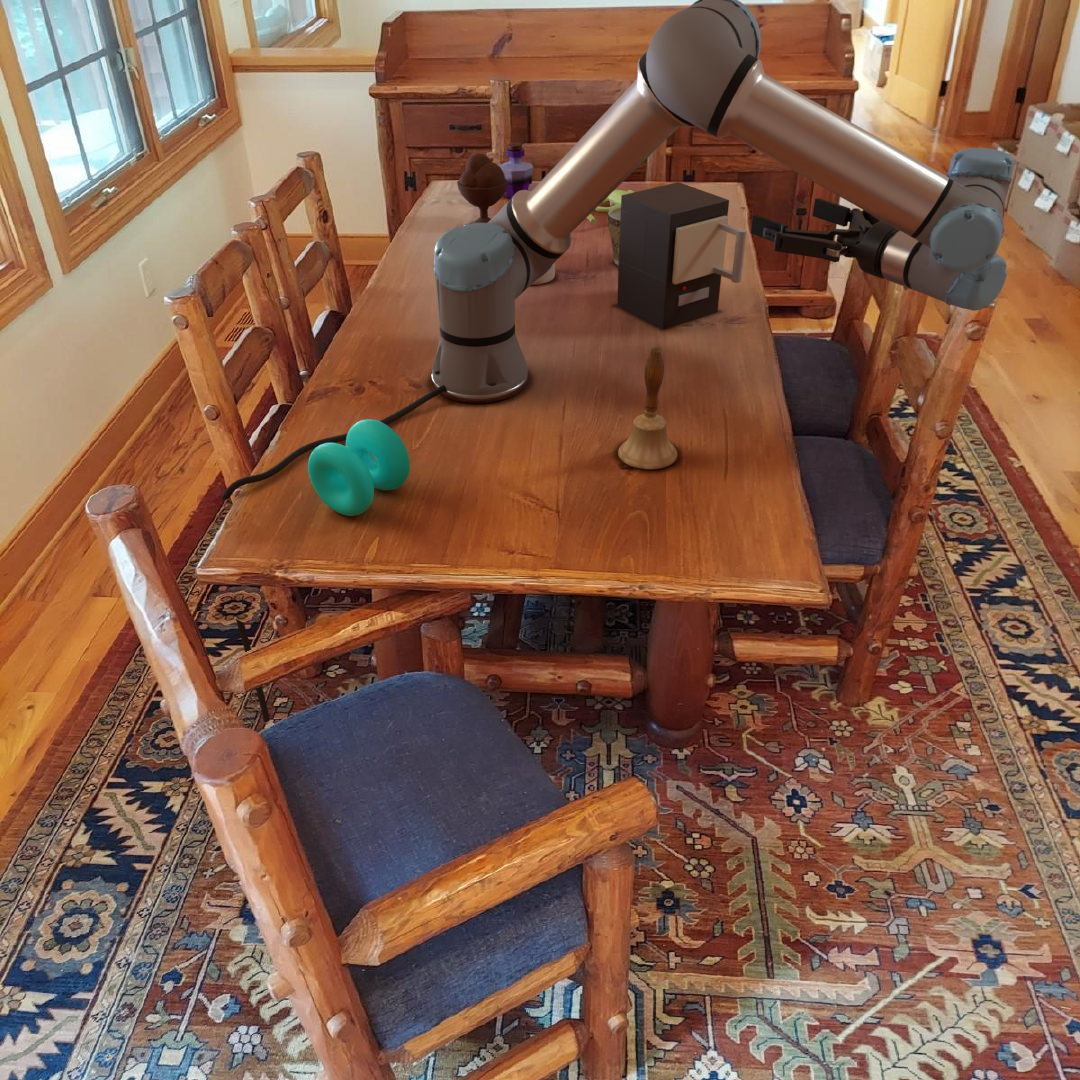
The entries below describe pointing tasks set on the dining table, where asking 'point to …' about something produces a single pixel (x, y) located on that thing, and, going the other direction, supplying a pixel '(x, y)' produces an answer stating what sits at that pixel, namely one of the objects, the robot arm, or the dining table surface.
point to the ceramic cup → (615, 231)
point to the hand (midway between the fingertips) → (784, 215)
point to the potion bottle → (516, 170)
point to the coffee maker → (664, 254)
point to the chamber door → (706, 250)
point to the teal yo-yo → (359, 467)
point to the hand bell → (649, 425)
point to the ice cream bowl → (482, 184)
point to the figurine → (614, 202)
